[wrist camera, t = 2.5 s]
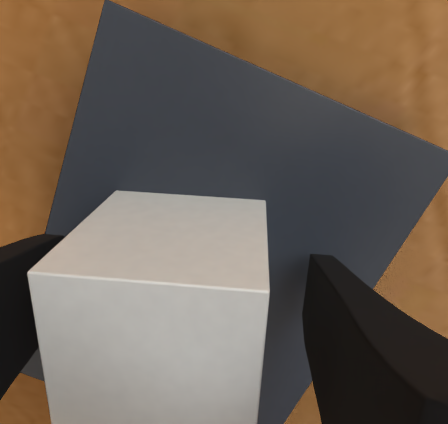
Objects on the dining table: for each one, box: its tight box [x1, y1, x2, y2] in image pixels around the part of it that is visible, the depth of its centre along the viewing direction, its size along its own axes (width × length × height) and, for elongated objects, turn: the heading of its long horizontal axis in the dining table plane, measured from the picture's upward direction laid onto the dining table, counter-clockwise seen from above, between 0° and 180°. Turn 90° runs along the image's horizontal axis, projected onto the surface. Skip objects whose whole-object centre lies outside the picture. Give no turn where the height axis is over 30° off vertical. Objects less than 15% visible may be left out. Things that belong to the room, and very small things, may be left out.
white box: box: [27, 190, 270, 424], centre depth 10 cm, size 4×4×5 cm
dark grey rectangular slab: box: [20, 0, 448, 424], centre depth 14 cm, size 13×10×2 cm
